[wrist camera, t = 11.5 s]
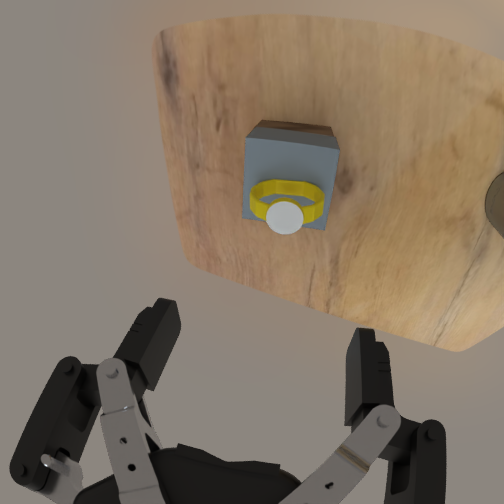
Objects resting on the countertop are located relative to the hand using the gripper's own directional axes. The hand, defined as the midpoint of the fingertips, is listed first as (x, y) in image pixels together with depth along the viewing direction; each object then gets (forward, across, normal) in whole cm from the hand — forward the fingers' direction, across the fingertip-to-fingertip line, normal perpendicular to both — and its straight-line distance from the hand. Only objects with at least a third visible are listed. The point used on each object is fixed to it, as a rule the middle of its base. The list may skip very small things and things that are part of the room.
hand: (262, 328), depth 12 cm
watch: (+16, 0, 0) cm, 16 cm away
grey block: (+21, 0, 0) cm, 21 cm away
